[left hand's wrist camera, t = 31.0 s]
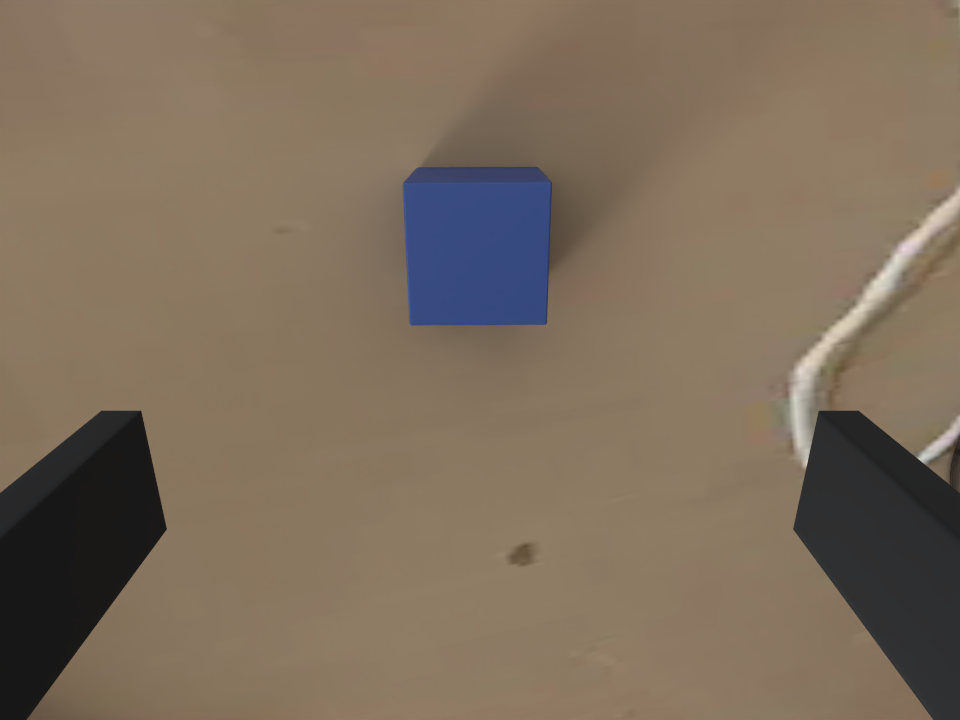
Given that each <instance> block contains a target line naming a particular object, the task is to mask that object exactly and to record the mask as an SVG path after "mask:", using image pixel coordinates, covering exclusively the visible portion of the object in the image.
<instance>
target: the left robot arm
mask: <svg viewBox="0 0 960 720" xmlns="http://www.w3.org/2000/svg"><path fill="white" fill-rule="evenodd" d="M166 530H167V528H166V523H165V519H164V514H163V510H162V505H161V500H160V496H159V491H158V487H157V482H156V477H155V473H154V468H153V463H152V459H151V454H150V450H149V445H148V440H147V436H146V431H145V427H144V422H143V417H142V413H141V411H101V412H99V413H98V414H97V415H96V416H95V417H93V418H92V419H91V420H90V421H88V422H87V423H86V424H85V425H83V426H82V427H81V428H80V429H79V430H77V431H76V432H75V433H74V434H72V435H71V436H70V437H69V438H67V439H66V440H65V441H64V442H63V443H61V444H60V445H59V446H58V447H56V448H55V449H54V450H53V451H51V452H50V453H49V454H48V455H47V456H45V457H44V458H43V459H42V460H40V461H39V462H38V463H37V464H35V465H34V466H33V467H32V468H30V469H29V470H28V471H27V472H26V473H24V474H23V475H22V476H21V477H19V478H18V479H17V480H16V481H14V482H13V483H12V484H11V485H10V486H8V487H7V488H6V489H5V490H3V491H2V492H1V493H0V720H27V718H28V717H29V716H30V714H31V713H32V712H33V710H34V709H35V708H36V706H37V705H38V703H39V702H40V701H41V699H42V698H43V697H44V695H45V694H46V693H47V691H48V690H49V689H50V687H51V686H52V684H53V683H54V682H55V680H56V679H57V678H58V676H59V675H60V674H61V672H62V671H63V669H64V668H65V667H66V665H67V664H68V663H69V661H70V660H71V659H72V657H73V656H74V655H75V653H76V652H77V650H78V649H79V648H80V646H81V645H82V644H83V642H84V641H85V640H86V638H87V637H88V636H89V634H90V633H91V631H92V630H93V629H94V627H95V626H96V625H97V623H98V622H99V621H100V619H101V618H102V617H103V615H104V614H105V612H106V611H107V610H108V608H109V607H110V606H111V604H112V603H113V602H114V600H115V599H116V597H117V596H118V595H119V593H120V592H121V591H122V589H123V588H124V587H125V585H126V584H127V583H128V581H129V580H130V578H131V577H132V576H133V574H134V573H135V572H136V570H137V569H138V568H139V566H140V565H141V564H142V562H143V561H144V559H145V558H146V557H147V555H148V554H149V553H150V551H151V550H152V549H153V547H154V546H155V545H156V543H157V542H158V540H159V539H160V538H161V536H162V535H163V534H164V532H165V531H166ZM793 530H794V531H795V532H796V534H797V535H798V536H799V538H800V539H801V540H802V542H803V543H804V545H805V546H806V547H807V549H808V550H809V551H810V553H811V554H812V555H813V557H814V558H815V559H816V561H817V562H818V564H819V565H820V566H821V568H822V569H823V570H824V572H825V573H826V574H827V576H828V577H829V578H830V580H831V581H832V583H833V584H834V585H835V587H836V588H837V589H838V591H839V592H840V593H841V595H842V596H843V597H844V599H845V600H846V602H847V603H848V604H849V606H850V607H851V608H852V610H853V611H854V612H855V614H856V615H857V617H858V618H859V619H860V621H861V622H862V623H863V625H864V626H865V627H866V629H867V630H868V631H869V633H870V634H871V636H872V637H873V638H874V640H875V641H876V642H877V644H878V645H879V646H880V648H881V649H882V650H883V652H884V653H885V655H886V656H887V657H888V659H889V660H890V661H891V663H892V664H893V665H894V667H895V668H896V669H897V671H898V672H899V674H900V675H901V676H902V678H903V679H904V680H905V682H906V683H907V684H908V686H909V687H910V689H911V690H912V691H913V693H914V694H915V695H916V697H917V698H918V699H919V701H920V702H921V703H922V705H923V706H924V708H925V709H926V710H927V712H928V713H929V714H930V716H931V717H932V718H933V720H960V439H959V442H958V444H957V447H956V449H955V452H954V455H953V459H952V464H951V471H950V485H949V484H948V483H947V482H946V481H944V480H943V479H942V478H941V477H939V476H938V475H937V474H936V473H934V472H933V471H932V470H931V469H930V468H928V467H927V466H926V465H925V464H923V463H922V462H921V461H920V460H918V459H917V458H916V457H915V456H913V455H912V454H911V453H910V452H909V451H907V450H906V449H905V448H904V447H902V446H901V445H900V444H899V443H897V442H896V441H895V440H894V439H893V438H891V437H890V436H889V435H888V434H886V433H885V432H884V431H883V430H881V429H880V428H879V427H878V426H877V425H875V424H874V423H873V422H872V421H870V420H869V419H868V418H867V417H865V416H864V415H863V414H862V413H861V412H859V411H819V413H818V417H817V422H816V427H815V431H814V436H813V440H812V445H811V450H810V454H809V459H808V463H807V468H806V473H805V477H804V482H803V487H802V491H801V496H800V500H799V505H798V510H797V514H796V519H795V523H794V528H793Z"/></svg>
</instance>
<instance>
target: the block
mask: <svg viewBox="0 0 960 720" xmlns="http://www.w3.org/2000/svg"><path fill="white" fill-rule="evenodd" d="M551 190H552V183H551V181H550V180H549V179H548V178H547V177H546V176H545V175H544V174H543V173H542V172H541V170H540V169H539V168H538V167H464V168H417V169H416V170H415V171H414V172H413V173H412V174H411V175H410V176H409V177H408V178H407V180H406V181H405V182H404V183H403V197H404V218H405V238H406V259H407V280H408V301H409V321H410V325H545V324H546V323H547V303H548V275H549V246H550V218H551Z"/></svg>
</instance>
